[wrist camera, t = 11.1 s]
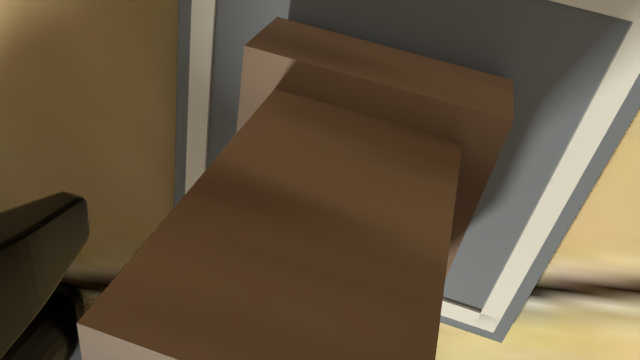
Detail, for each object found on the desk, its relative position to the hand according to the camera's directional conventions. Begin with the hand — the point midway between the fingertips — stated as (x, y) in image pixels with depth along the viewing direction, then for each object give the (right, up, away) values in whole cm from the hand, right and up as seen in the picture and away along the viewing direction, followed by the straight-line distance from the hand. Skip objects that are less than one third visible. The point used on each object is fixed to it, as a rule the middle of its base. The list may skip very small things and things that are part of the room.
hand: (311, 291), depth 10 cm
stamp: (+1, +3, +5) cm, 6 cm away
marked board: (+2, +3, +5) cm, 6 cm away
